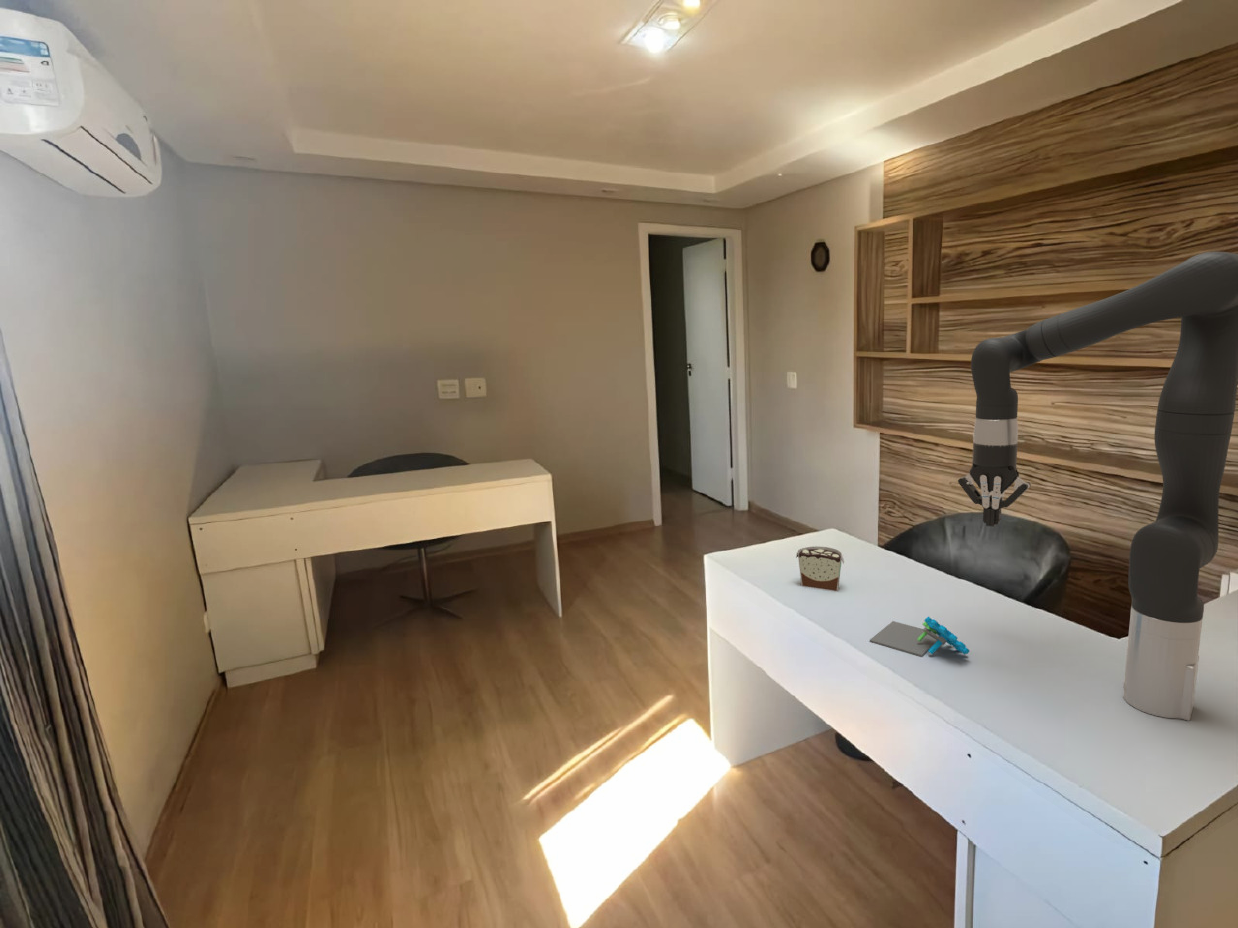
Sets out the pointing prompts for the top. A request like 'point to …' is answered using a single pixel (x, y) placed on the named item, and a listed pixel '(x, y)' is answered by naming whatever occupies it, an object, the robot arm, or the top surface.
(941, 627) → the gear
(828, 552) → the food container
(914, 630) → the mat
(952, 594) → the top surface
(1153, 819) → the top surface
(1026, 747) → the top surface
